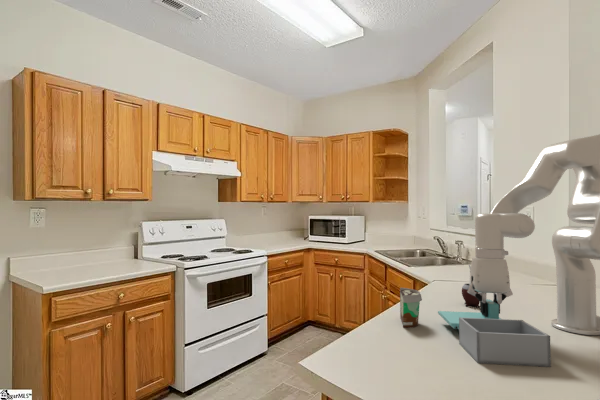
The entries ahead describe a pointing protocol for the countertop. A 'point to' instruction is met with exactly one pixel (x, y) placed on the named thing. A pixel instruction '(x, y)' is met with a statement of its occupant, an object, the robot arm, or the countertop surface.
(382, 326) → the countertop surface
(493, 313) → the lid
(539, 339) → the tub
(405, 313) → the food container
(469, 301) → the mate gourd
